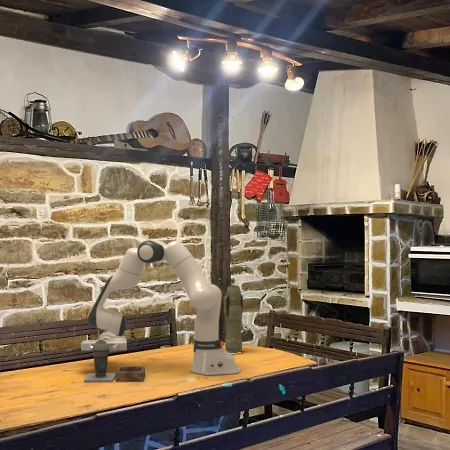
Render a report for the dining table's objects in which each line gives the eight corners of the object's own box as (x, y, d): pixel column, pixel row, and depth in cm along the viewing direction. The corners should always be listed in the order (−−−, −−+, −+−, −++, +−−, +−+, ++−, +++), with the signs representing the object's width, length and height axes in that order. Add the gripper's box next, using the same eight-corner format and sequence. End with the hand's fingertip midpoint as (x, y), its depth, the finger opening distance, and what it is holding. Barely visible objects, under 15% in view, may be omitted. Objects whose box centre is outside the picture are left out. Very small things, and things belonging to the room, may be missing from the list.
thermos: (219, 353, 318) (219, 286, 318) (235, 350, 326) (235, 284, 326) (231, 355, 312) (231, 287, 312) (247, 352, 320) (247, 285, 320)
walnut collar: (145, 375, 270) (145, 366, 270) (143, 381, 258) (143, 372, 258) (118, 375, 269) (118, 366, 269) (115, 381, 257) (115, 372, 257)
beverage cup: (105, 378, 259) (105, 331, 259) (89, 378, 260) (89, 331, 260) (111, 374, 266) (112, 329, 266) (96, 374, 267) (96, 328, 267)
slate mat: (116, 375, 269) (116, 373, 269) (112, 382, 257) (112, 379, 257) (88, 375, 268) (88, 373, 268) (83, 382, 256) (83, 380, 257)
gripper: (83, 336, 281) (78, 341, 267) (128, 335, 282) (125, 341, 268) (83, 349, 281) (78, 356, 267) (128, 349, 282) (125, 355, 268)
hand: (102, 348), depth 267 cm, fingers open, 8 cm apart
